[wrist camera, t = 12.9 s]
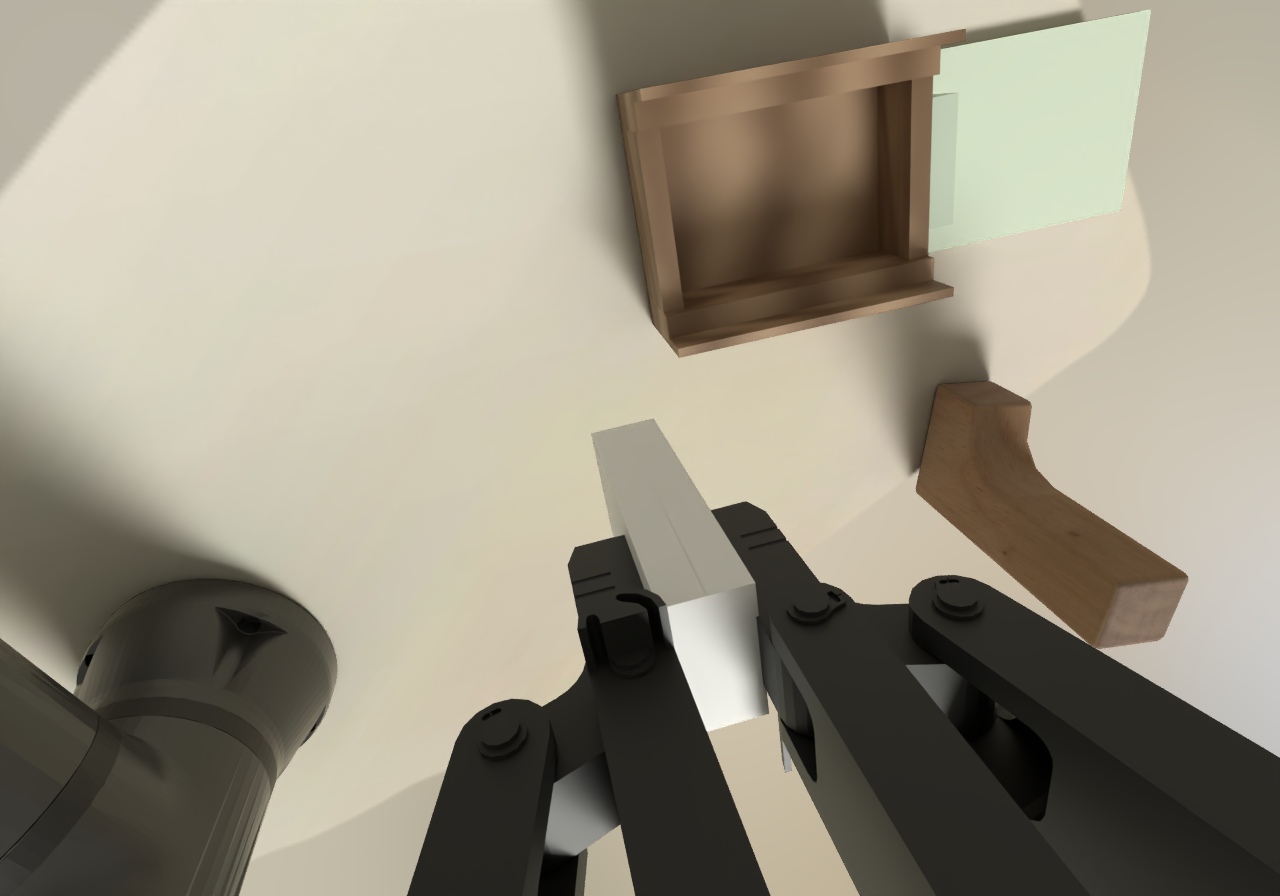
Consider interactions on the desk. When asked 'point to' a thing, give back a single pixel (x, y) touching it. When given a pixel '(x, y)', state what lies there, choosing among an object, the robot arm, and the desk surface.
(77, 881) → the robot arm
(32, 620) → the desk surface
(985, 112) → the lid
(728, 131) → the box
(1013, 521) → the wooden block
